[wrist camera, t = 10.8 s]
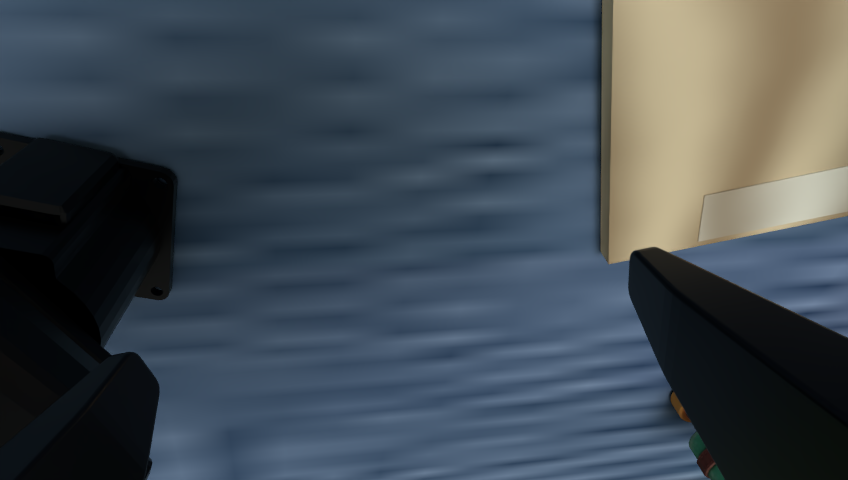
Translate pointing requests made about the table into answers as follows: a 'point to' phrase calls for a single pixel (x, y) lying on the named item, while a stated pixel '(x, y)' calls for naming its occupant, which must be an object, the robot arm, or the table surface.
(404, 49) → the table surface
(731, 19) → the gauge track
